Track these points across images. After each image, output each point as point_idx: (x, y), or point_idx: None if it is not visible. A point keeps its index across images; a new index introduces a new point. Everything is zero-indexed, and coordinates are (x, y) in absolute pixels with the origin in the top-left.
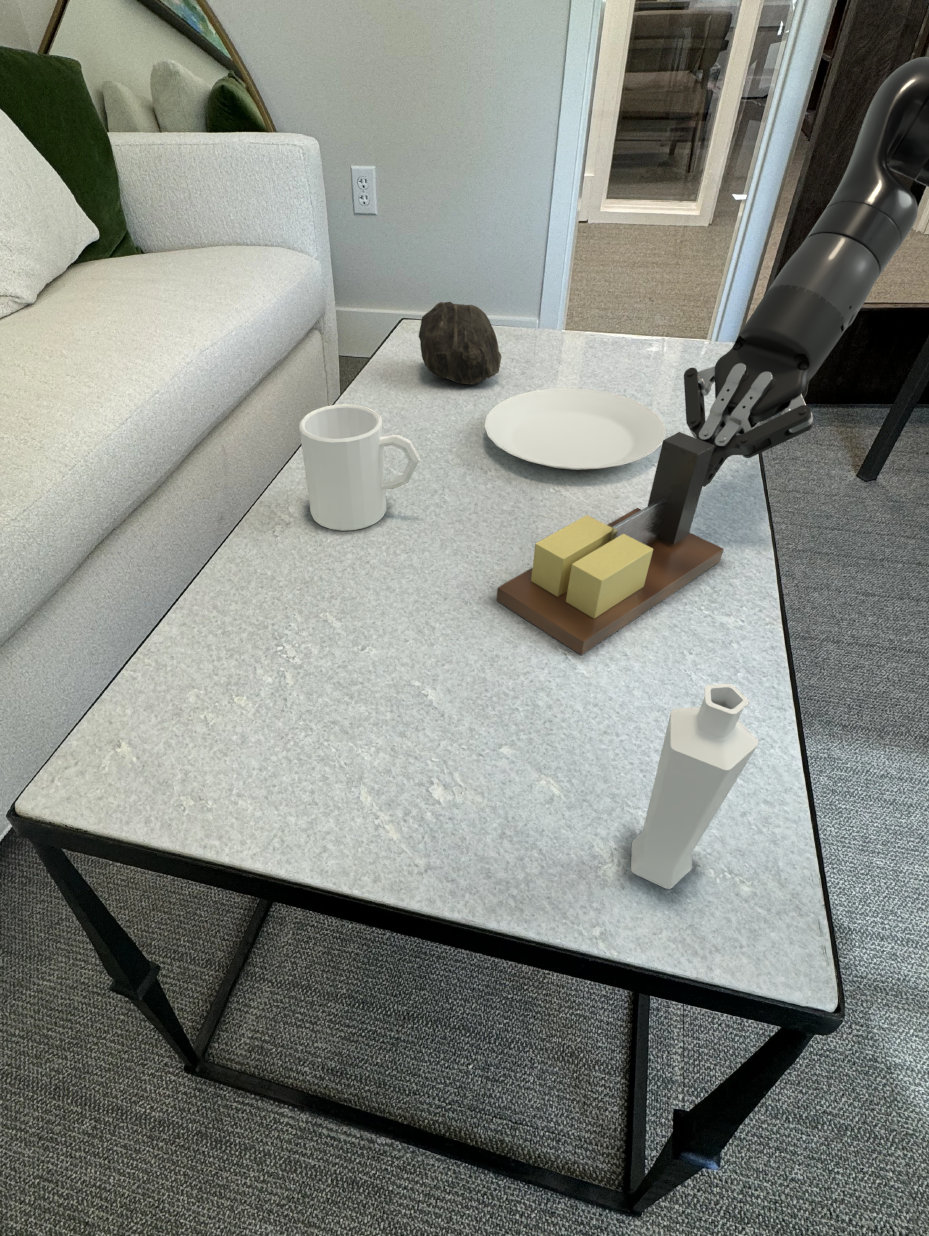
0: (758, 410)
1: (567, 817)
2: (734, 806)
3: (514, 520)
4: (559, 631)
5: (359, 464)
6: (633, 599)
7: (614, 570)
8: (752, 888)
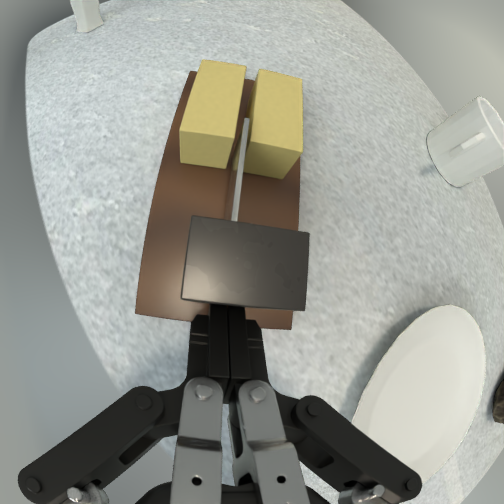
0: (158, 492)
1: (137, 15)
2: (58, 61)
3: (379, 224)
4: None
5: (464, 114)
6: (179, 137)
7: (199, 74)
8: (51, 42)
